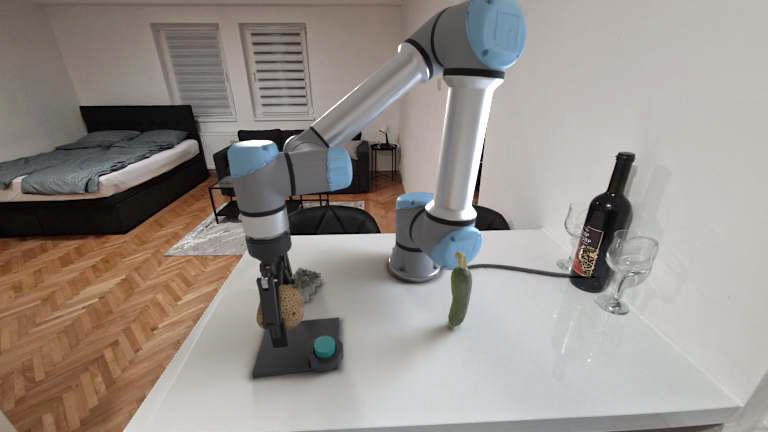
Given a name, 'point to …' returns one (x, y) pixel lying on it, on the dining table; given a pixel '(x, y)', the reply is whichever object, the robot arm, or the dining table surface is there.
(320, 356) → the tare button
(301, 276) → the grey rock
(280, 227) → the robot arm
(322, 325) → the scale
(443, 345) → the dining table surface
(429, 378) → the dining table surface
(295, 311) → the natural sponge
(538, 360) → the dining table surface
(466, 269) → the vegetable
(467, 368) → the dining table surface
